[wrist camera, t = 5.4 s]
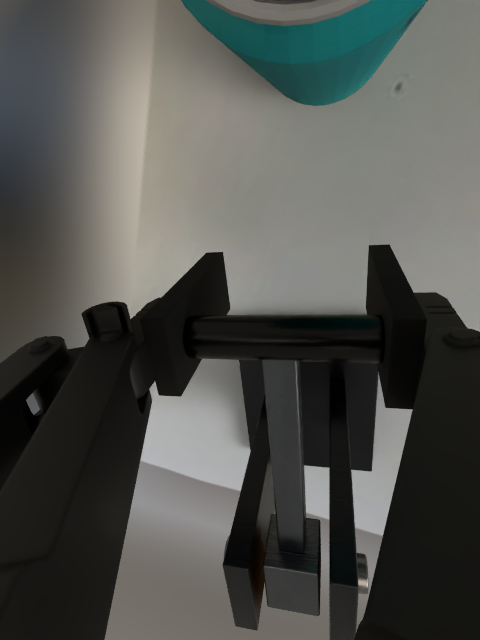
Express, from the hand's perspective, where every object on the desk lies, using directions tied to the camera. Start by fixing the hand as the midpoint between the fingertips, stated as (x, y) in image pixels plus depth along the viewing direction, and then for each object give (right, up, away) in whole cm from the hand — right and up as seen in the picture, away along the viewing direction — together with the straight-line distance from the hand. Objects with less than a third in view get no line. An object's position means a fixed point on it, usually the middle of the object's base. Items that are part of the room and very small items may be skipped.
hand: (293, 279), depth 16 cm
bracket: (+3, -7, +11) cm, 13 cm away
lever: (0, -7, -1) cm, 7 cm away
